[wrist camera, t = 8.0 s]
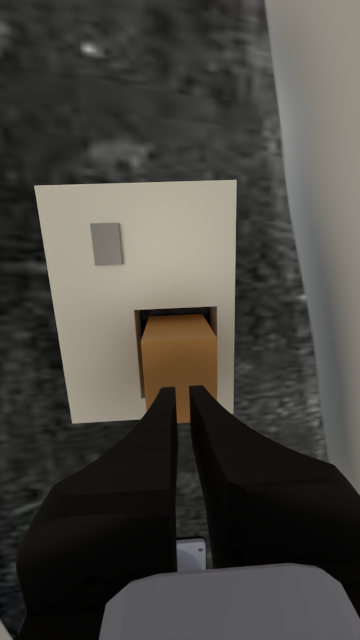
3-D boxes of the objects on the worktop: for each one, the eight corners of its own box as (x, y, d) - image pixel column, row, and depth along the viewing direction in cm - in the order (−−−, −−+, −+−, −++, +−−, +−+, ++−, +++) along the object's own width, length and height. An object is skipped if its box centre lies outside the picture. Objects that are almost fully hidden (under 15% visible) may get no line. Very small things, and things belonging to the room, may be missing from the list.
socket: (224, 392, 22) (236, 420, 18) (85, 401, 21) (68, 430, 18) (225, 192, 18) (240, 175, 14) (56, 198, 18) (26, 181, 14)
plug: (201, 368, 21) (217, 420, 14) (154, 371, 21) (147, 425, 14) (200, 311, 20) (216, 337, 13) (150, 313, 20) (140, 341, 13)
